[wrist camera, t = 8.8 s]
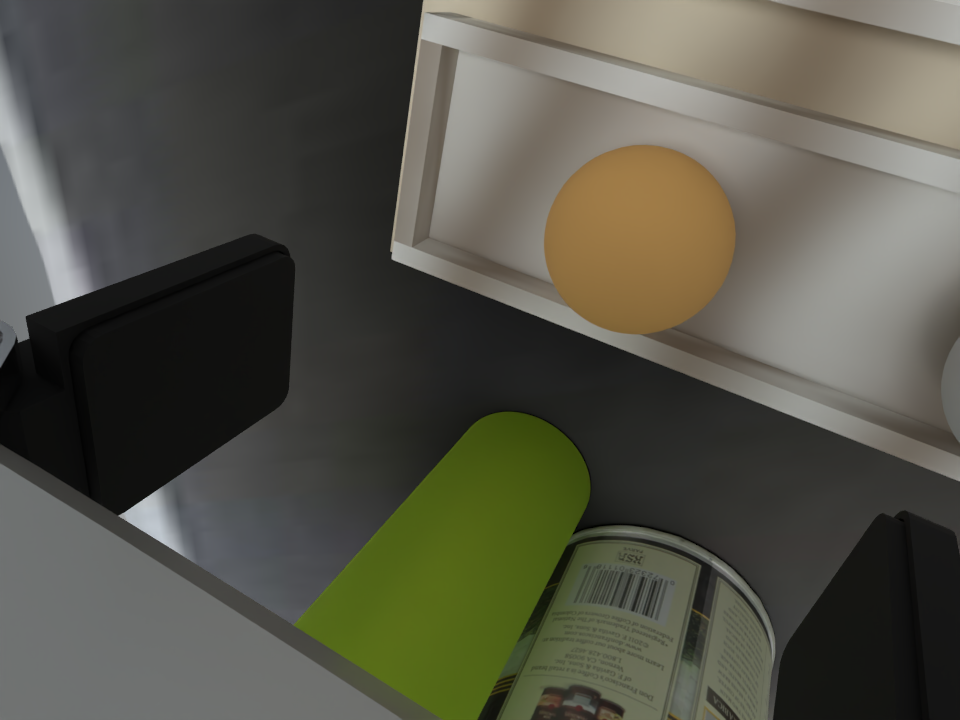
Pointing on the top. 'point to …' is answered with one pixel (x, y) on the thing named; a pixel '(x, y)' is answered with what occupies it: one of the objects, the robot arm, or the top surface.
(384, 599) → the soap dispenser
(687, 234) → the orange ball
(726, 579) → the coffee can
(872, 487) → the top surface
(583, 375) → the top surface
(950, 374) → the grey ball
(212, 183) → the top surface
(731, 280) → the trough board
